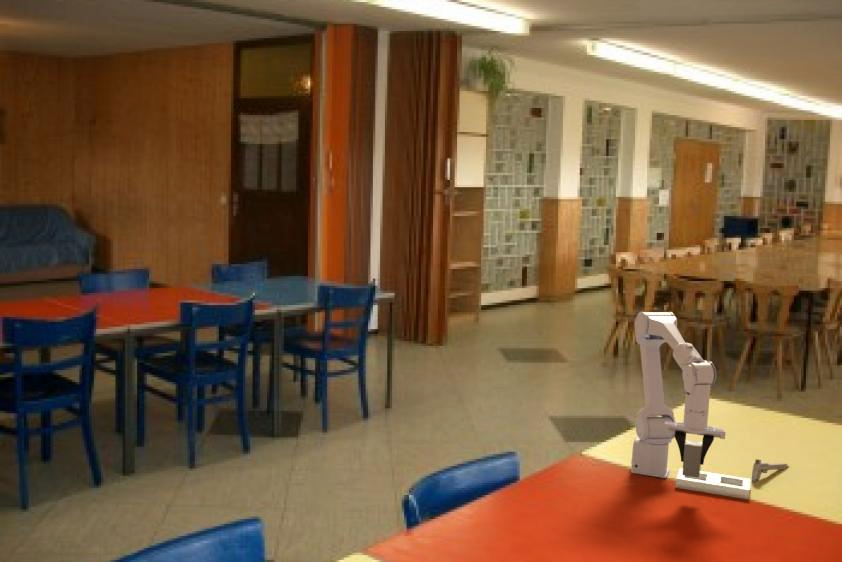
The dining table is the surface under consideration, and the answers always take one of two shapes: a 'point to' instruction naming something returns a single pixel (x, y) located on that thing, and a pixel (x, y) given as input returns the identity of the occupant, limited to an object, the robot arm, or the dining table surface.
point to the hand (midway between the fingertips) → (692, 462)
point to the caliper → (765, 468)
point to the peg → (692, 458)
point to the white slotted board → (715, 484)
